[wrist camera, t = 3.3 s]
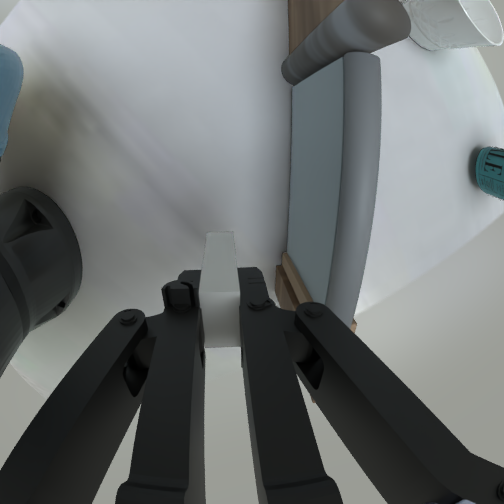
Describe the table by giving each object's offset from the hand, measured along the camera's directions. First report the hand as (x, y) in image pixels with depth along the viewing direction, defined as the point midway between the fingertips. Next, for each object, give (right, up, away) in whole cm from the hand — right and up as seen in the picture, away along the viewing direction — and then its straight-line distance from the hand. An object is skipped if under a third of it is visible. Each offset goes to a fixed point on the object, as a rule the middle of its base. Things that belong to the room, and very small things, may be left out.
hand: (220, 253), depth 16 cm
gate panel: (+6, +6, +6) cm, 11 cm away
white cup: (+21, +26, +1) cm, 33 cm away
